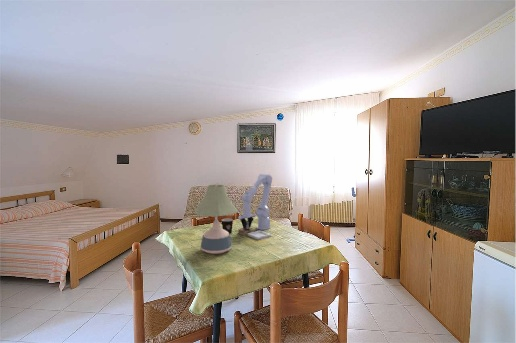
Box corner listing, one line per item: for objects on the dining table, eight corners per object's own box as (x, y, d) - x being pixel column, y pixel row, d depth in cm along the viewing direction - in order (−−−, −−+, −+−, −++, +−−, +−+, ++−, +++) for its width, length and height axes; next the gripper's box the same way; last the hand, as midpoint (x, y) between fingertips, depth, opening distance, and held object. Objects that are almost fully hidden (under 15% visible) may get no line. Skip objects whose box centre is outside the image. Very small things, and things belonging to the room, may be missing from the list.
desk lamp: (195, 261, 135) (195, 186, 133) (194, 244, 163) (193, 181, 160) (241, 256, 143) (241, 185, 140) (232, 240, 170) (232, 180, 168)
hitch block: (248, 230, 193) (248, 226, 193) (255, 233, 187) (255, 229, 187) (238, 233, 187) (238, 229, 187) (244, 235, 181) (244, 231, 181)
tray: (260, 232, 189) (260, 230, 189) (270, 236, 179) (270, 234, 179) (247, 235, 181) (247, 233, 181) (257, 240, 172) (257, 237, 172)
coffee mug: (234, 231, 192) (234, 218, 191) (231, 234, 183) (231, 221, 183) (219, 230, 193) (219, 218, 192) (216, 234, 184) (216, 221, 184)
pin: (247, 232, 190) (247, 220, 189) (250, 233, 187) (250, 221, 186) (243, 233, 187) (243, 221, 187) (246, 234, 184) (246, 222, 184)
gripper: (251, 207, 194) (251, 224, 194) (235, 210, 185) (235, 228, 185) (256, 209, 188) (256, 226, 189) (241, 211, 179) (241, 230, 180)
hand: (246, 227), depth 187 cm, fingers open, 4 cm apart
